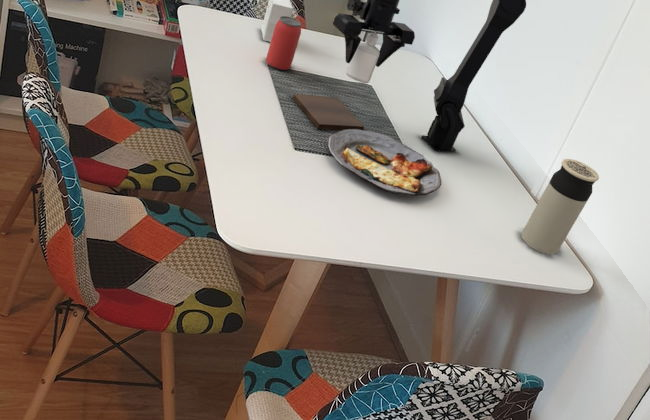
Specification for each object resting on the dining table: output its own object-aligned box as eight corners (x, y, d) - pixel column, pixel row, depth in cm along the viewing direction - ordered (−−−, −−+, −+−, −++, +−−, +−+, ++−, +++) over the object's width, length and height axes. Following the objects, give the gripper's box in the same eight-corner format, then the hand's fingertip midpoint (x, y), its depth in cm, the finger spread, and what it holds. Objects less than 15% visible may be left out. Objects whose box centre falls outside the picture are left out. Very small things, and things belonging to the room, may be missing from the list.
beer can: (261, 58, 188) (273, 13, 182) (284, 60, 191) (297, 17, 185) (270, 69, 183) (283, 24, 177) (294, 72, 186) (307, 27, 180)
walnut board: (362, 131, 169) (364, 126, 169) (318, 128, 163) (319, 124, 162) (335, 101, 179) (337, 97, 178) (292, 98, 173) (294, 93, 172)
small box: (282, 45, 200) (293, 8, 195) (262, 40, 199) (272, 3, 193) (280, 34, 207) (290, -2, 201) (260, 29, 205) (270, -7, 200)
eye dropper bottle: (360, 85, 166) (378, 35, 160) (342, 73, 169) (359, 24, 162) (372, 83, 169) (390, 34, 163) (354, 72, 172) (372, 23, 166)
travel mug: (541, 258, 145) (585, 182, 136) (513, 234, 150) (553, 159, 141) (564, 252, 150) (608, 178, 141) (536, 229, 155) (576, 156, 146)
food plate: (452, 180, 162) (459, 167, 160) (412, 216, 143) (418, 201, 141) (357, 129, 169) (362, 115, 168) (306, 156, 151) (311, 141, 149)
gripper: (402, -10, 170) (378, 53, 177) (333, -23, 160) (312, 44, 168) (427, 10, 162) (401, 74, 170) (356, -3, 152) (333, 66, 160)
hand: (362, 64), depth 167 cm, fingers closed on eye dropper bottle, 8 cm apart
